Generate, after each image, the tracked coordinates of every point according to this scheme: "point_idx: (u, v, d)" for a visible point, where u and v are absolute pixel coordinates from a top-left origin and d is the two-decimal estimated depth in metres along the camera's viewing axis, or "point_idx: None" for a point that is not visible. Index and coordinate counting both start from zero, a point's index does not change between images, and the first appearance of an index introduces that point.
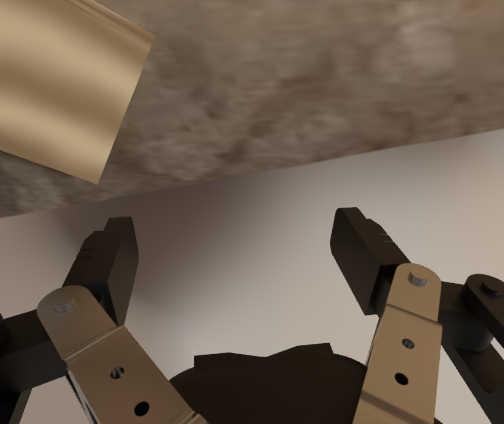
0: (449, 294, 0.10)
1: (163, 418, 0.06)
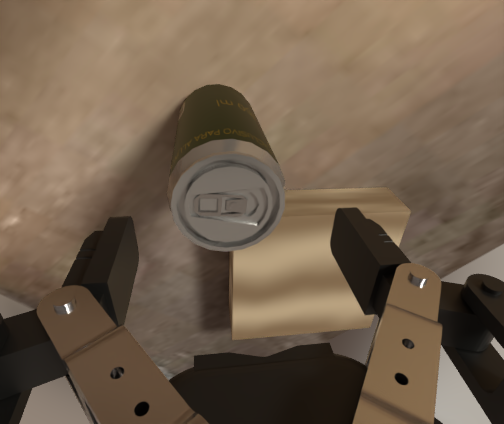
0: (449, 294, 0.10)
1: (163, 418, 0.06)
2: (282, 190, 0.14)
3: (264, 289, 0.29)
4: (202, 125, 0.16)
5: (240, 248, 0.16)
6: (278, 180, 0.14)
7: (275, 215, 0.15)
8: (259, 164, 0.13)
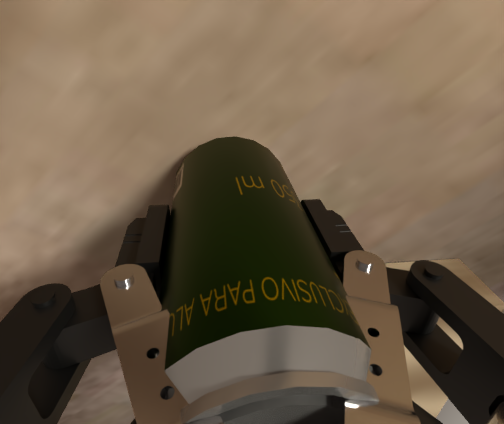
0: (395, 279, 0.10)
1: None
2: None
3: None
4: (215, 255, 0.08)
5: None
6: None
7: None
8: (354, 395, 0.06)
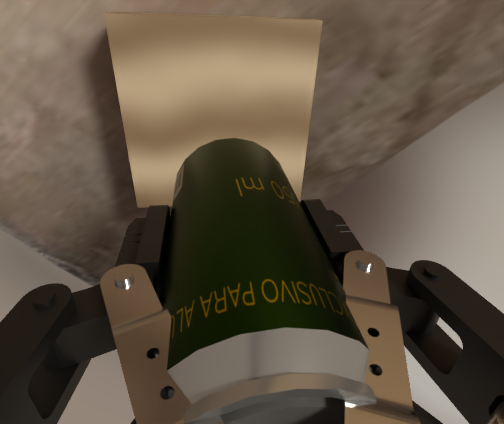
0: (395, 279, 0.10)
1: (184, 407, 0.06)
2: None
3: (163, 132, 0.25)
4: (215, 257, 0.08)
5: None
6: None
7: None
8: (353, 398, 0.06)
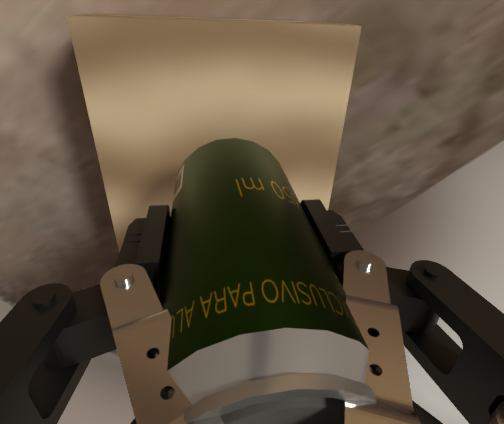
0: (395, 279, 0.10)
1: (184, 407, 0.06)
2: None
3: (150, 168, 0.19)
4: (215, 257, 0.08)
5: None
6: None
7: None
8: (353, 398, 0.06)
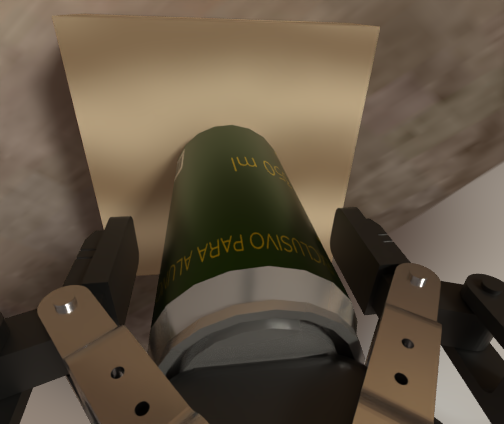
0: (449, 294, 0.10)
1: (163, 418, 0.06)
2: (361, 354, 0.08)
3: (147, 182, 0.18)
4: (211, 217, 0.09)
5: None
6: (356, 342, 0.07)
7: None
8: (324, 322, 0.07)
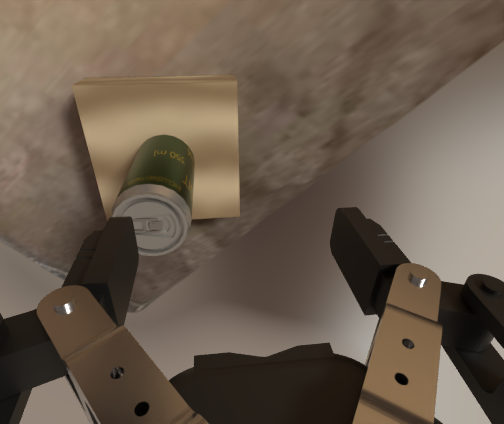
0: (449, 294, 0.10)
1: (163, 418, 0.06)
2: (183, 215, 0.22)
3: (123, 167, 0.32)
4: (136, 172, 0.24)
5: (163, 253, 0.23)
6: (179, 209, 0.22)
7: (183, 231, 0.23)
8: (164, 199, 0.21)
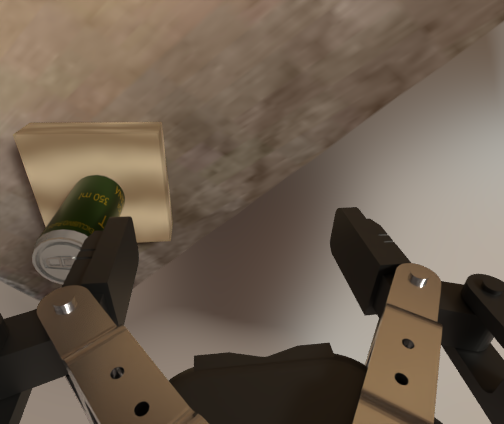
0: (449, 294, 0.10)
1: (163, 418, 0.06)
2: None
3: (62, 199, 0.37)
4: (58, 216, 0.29)
5: None
6: None
7: None
8: (74, 243, 0.27)
